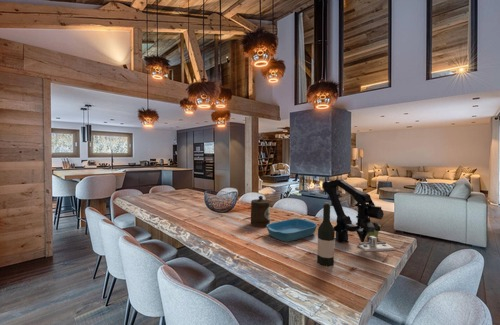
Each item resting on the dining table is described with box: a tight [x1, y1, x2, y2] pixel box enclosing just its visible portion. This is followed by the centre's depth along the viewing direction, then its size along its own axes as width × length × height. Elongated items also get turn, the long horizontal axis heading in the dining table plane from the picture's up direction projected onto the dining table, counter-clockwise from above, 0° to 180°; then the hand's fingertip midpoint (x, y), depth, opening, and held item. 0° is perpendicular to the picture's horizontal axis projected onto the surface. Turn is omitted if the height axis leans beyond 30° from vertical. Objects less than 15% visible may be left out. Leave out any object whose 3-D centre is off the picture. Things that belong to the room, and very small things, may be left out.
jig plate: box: [356, 241, 396, 252], centre depth 137 cm, size 18×8×2 cm, turn 98°
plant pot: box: [366, 223, 381, 239], centre depth 154 cm, size 9×9×9 cm
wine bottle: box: [316, 202, 336, 268], centre depth 116 cm, size 8×8×30 cm
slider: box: [368, 236, 378, 247], centre depth 136 cm, size 3×4×5 cm
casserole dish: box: [266, 218, 318, 242], centre depth 158 cm, size 37×22×7 cm, turn 125°
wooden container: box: [250, 195, 271, 228], centre depth 180 cm, size 15×15×22 cm
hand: (362, 242), depth 135 cm, fingers closed
